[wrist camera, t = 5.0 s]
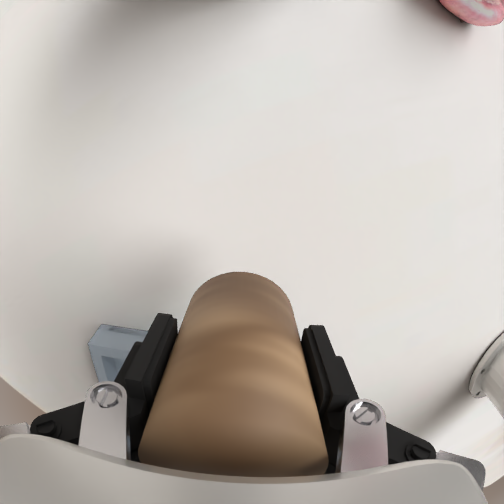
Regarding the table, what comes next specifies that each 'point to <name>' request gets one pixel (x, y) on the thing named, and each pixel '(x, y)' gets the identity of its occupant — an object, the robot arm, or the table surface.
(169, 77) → the table surface
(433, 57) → the table surface
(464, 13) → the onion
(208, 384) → the brown rounded cylinder
